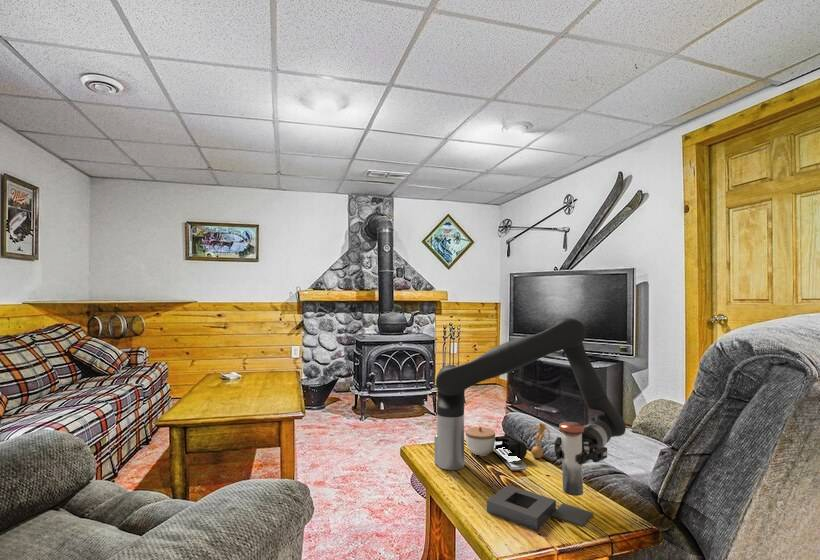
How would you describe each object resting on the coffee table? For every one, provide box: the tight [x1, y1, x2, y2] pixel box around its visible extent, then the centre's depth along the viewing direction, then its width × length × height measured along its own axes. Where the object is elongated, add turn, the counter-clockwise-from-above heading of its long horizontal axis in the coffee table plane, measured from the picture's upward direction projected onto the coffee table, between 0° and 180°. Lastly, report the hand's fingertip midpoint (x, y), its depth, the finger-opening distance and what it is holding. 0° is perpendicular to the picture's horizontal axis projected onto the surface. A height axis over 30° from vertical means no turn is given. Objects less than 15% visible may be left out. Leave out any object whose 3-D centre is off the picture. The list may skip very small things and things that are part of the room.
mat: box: [551, 502, 594, 528], centre depth 112 cm, size 8×8×1 cm
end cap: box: [494, 432, 528, 460], centre depth 152 cm, size 10×7×7 cm
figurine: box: [530, 422, 551, 459], centre depth 152 cm, size 8×6×12 cm
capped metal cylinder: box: [558, 421, 585, 497], centre depth 113 cm, size 6×6×17 cm
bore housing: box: [486, 484, 557, 531], centre depth 114 cm, size 14×12×3 cm
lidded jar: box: [464, 426, 496, 457], centre depth 156 cm, size 11×11×9 cm
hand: (568, 457), depth 111 cm, fingers closed on capped metal cylinder, 5 cm apart
